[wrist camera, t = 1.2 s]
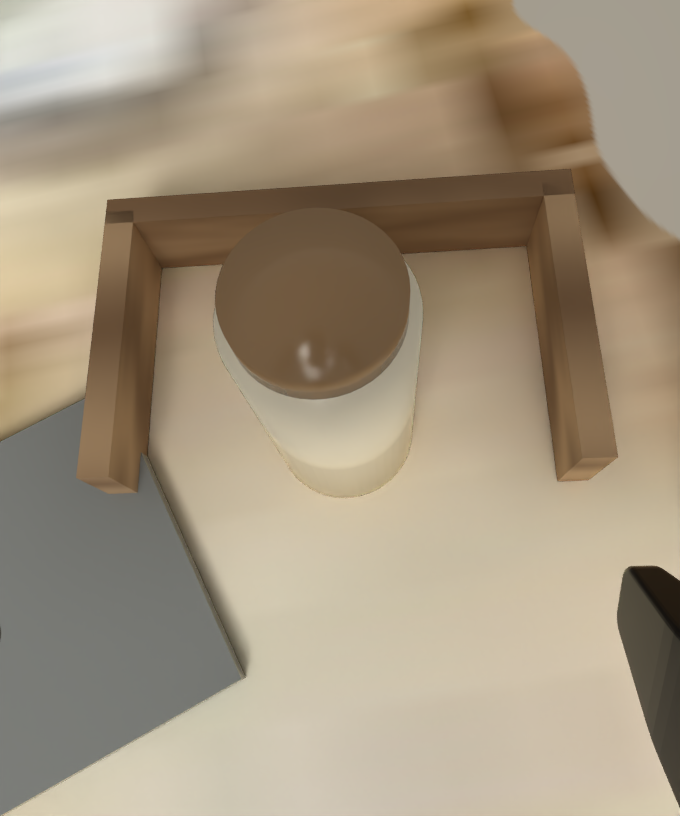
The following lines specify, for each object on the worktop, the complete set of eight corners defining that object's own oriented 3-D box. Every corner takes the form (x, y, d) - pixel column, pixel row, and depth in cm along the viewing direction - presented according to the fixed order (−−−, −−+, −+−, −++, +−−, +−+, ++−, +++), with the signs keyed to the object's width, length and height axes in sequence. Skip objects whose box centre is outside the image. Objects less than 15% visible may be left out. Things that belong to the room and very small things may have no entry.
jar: (436, 456, 22) (469, 327, 13) (317, 522, 22) (260, 438, 12) (370, 349, 24) (356, 162, 14) (258, 408, 23) (166, 256, 14)
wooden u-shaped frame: (588, 480, 22) (618, 457, 19) (115, 497, 23) (76, 478, 20) (550, 221, 25) (570, 169, 22) (138, 247, 26) (107, 199, 23)
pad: (245, 677, 20) (241, 679, 20) (-85, 865, 19) (-100, 872, 19) (117, 390, 24) (111, 384, 23) (-168, 537, 23) (-182, 534, 22)
